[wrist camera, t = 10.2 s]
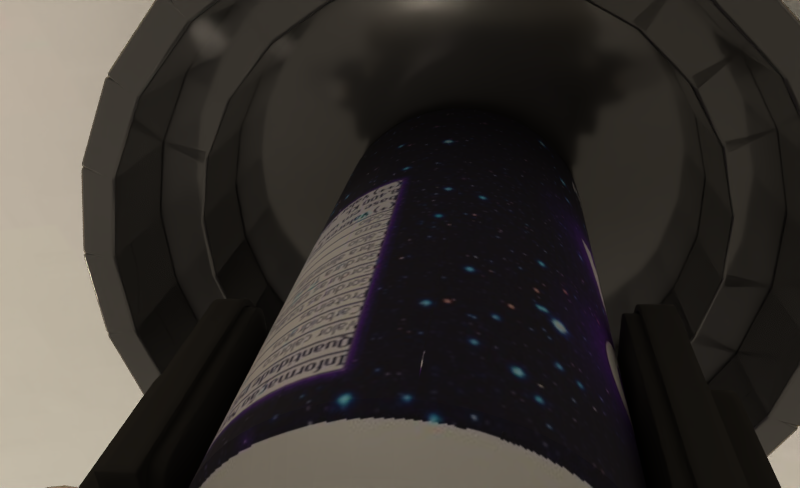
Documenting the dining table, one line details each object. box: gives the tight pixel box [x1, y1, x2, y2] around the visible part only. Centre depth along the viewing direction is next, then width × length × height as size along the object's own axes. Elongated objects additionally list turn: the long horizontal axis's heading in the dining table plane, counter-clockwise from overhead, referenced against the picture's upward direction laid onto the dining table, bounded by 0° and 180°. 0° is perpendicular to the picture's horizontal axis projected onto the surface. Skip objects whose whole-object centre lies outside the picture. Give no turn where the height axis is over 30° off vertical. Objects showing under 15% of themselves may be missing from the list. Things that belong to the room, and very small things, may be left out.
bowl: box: [82, 0, 800, 457], centre depth 16 cm, size 15×15×5 cm
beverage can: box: [189, 109, 647, 488], centre depth 12 cm, size 6×6×12 cm
